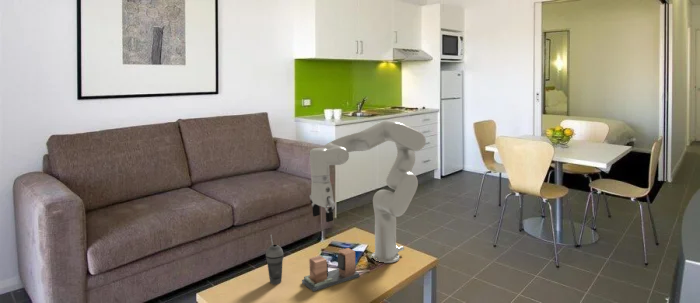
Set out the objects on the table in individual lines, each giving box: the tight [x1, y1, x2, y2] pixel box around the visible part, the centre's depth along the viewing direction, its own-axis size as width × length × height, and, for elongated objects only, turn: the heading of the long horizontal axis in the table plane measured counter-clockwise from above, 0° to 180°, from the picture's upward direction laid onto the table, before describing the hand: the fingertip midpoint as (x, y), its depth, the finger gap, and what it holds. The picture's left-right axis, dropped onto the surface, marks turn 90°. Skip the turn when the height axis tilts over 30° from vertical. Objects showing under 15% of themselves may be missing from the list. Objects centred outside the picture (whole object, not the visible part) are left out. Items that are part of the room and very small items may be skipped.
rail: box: [301, 247, 360, 292], centre depth 186 cm, size 22×9×10 cm, turn 125°
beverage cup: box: [265, 234, 285, 285], centre depth 184 cm, size 7×7×20 cm
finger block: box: [308, 255, 329, 283], centre depth 183 cm, size 5×6×9 cm
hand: (322, 218), depth 190 cm, fingers open, 9 cm apart
